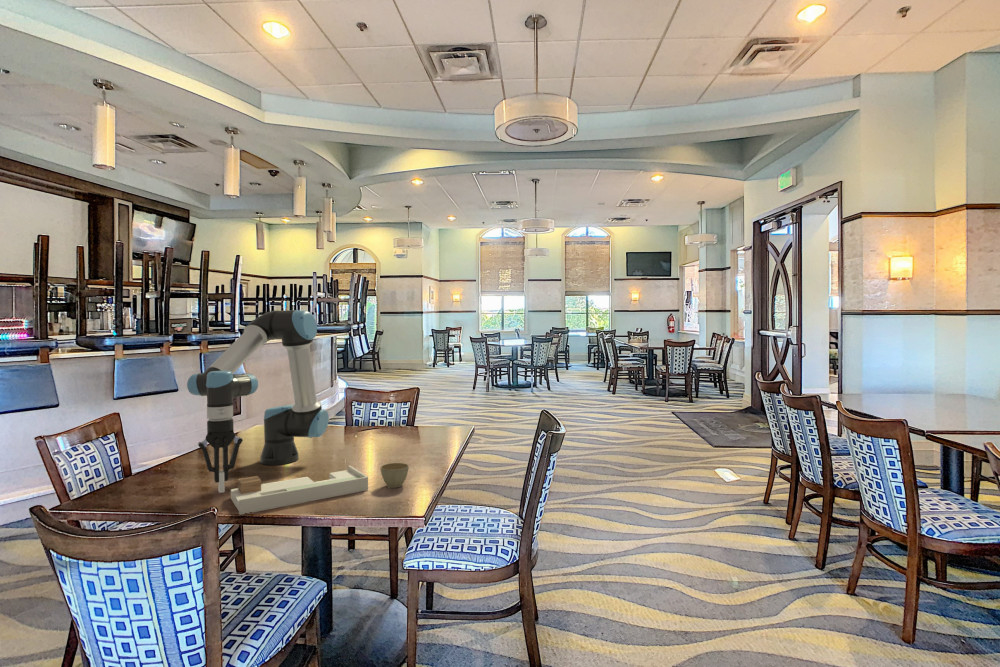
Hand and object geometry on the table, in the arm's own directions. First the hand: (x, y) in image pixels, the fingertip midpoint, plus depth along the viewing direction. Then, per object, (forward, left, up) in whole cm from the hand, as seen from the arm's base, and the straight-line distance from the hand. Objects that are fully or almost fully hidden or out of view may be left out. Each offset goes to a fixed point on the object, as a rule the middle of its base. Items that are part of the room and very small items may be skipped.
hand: (221, 491), depth 172 cm
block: (0, +8, -1) cm, 8 cm away
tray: (+5, +23, -4) cm, 24 cm away
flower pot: (+16, +53, -4) cm, 56 cm away
